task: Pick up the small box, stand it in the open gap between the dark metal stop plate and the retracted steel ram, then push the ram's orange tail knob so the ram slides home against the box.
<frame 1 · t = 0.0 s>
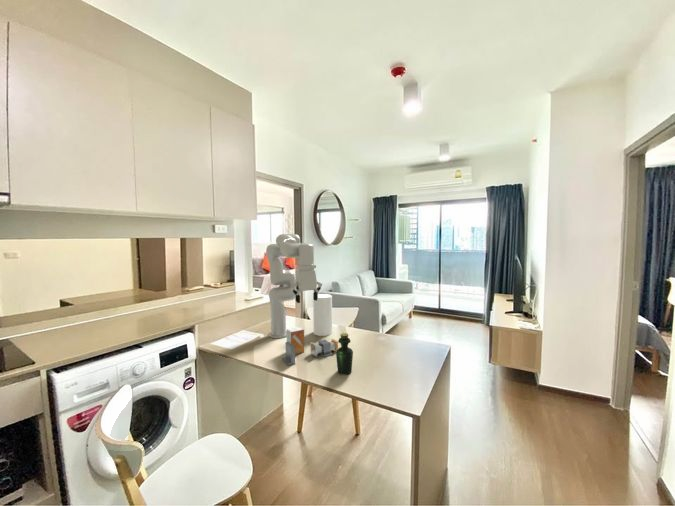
hand: (306, 301, 145), 31 cm above the worktop, fingers open, 9 cm apart
stop plate: (290, 361, 146), on the worktop
small box: (295, 352, 158), on the worktop
ram: (324, 346, 156), point 3 cm above the worktop, slide at 0.0 cm
potion bottle: (344, 371, 135), on the worktop
cylinder: (323, 332, 189), on the worktop
guide block: (324, 353, 156), on the worktop
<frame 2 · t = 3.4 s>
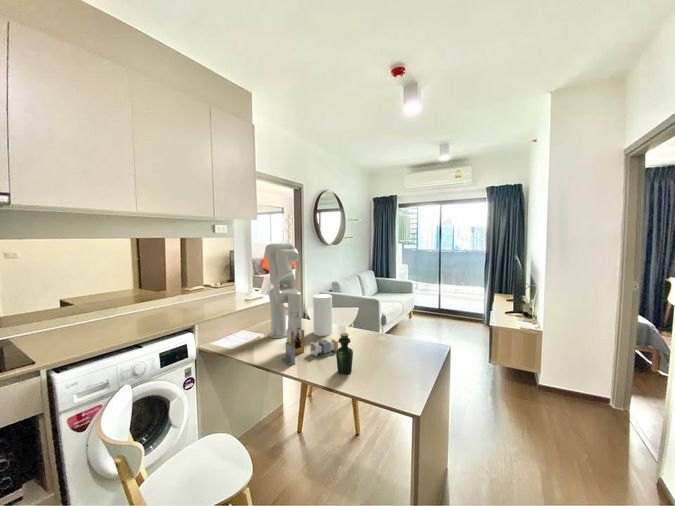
hand: (295, 345, 158), 4 cm above the worktop, fingers closed on small box, 6 cm apart
small box: (295, 352, 158), on the worktop, touching gripper
everything else where it was.
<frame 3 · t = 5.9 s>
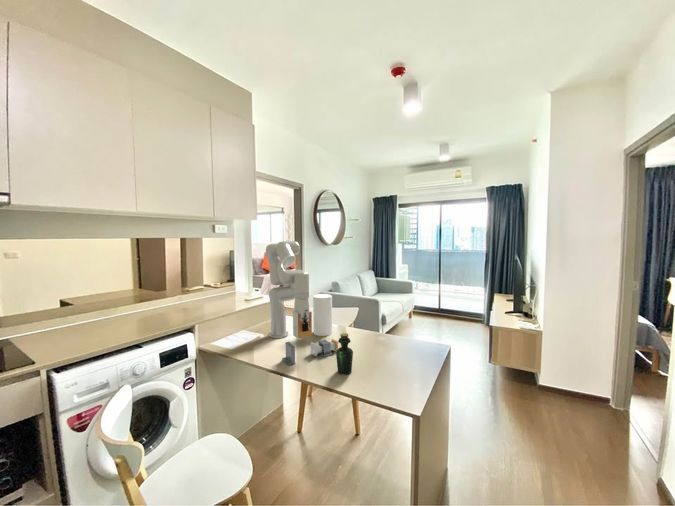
hand: (302, 328, 149), 16 cm above the worktop, fingers closed on small box, 6 cm apart
small box: (302, 336, 149), point 12 cm above the worktop, touching gripper
everything else where it was.
when the fingers open (5 cm above the worktop, at t = 8.6 s): small box drops 1 cm, on the worktop.
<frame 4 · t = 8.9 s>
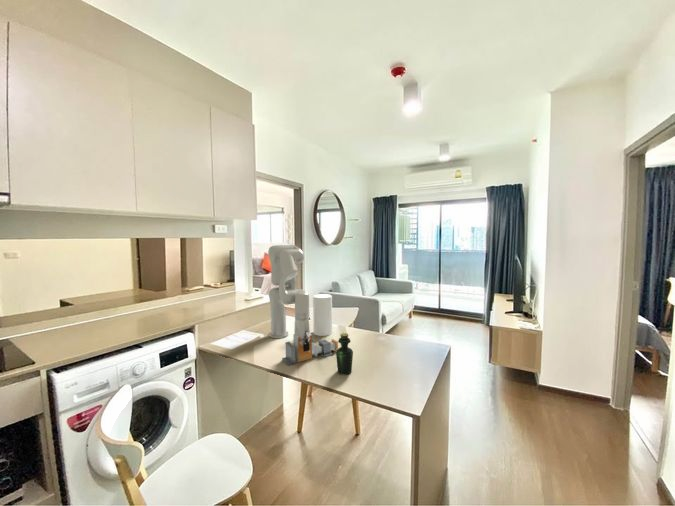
hand: (302, 347, 149), 6 cm above the worktop, fingers open, 9 cm apart
small box: (302, 358, 149), on the worktop
everything else where it was.
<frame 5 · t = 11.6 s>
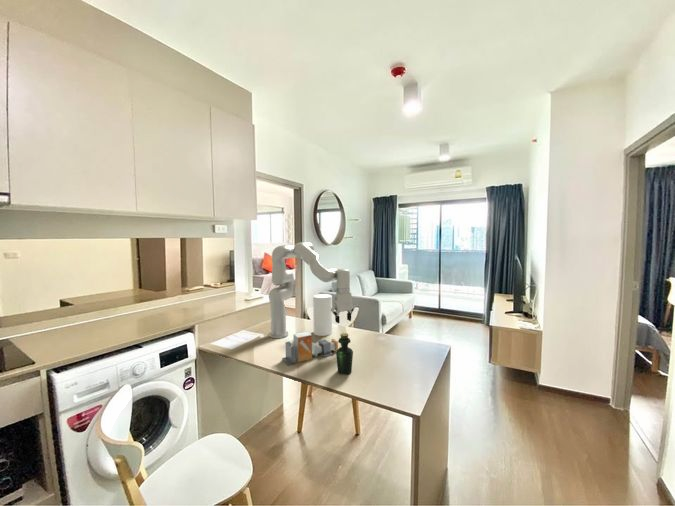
hand: (343, 321, 162), 16 cm above the worktop, fingers open, 7 cm apart
nothing on the worktop moved.
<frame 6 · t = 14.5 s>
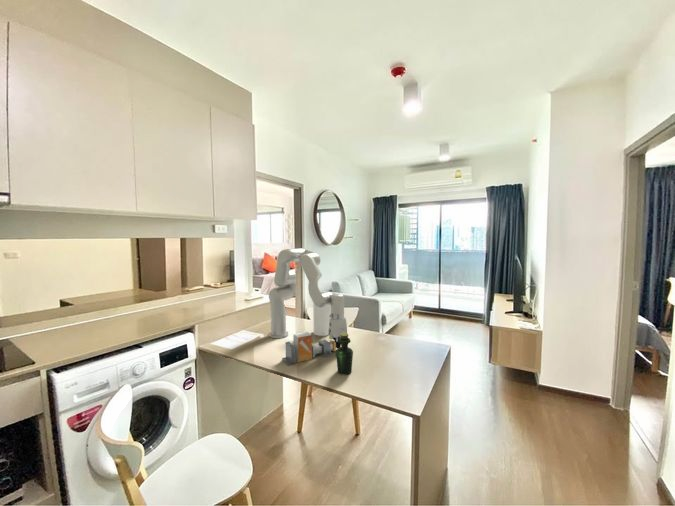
hand: (337, 347, 160), 1 cm above the worktop, fingers closed
ram: (322, 347, 155), point 3 cm above the worktop, slide at 1.4 cm, touching gripper
everything else where it was.
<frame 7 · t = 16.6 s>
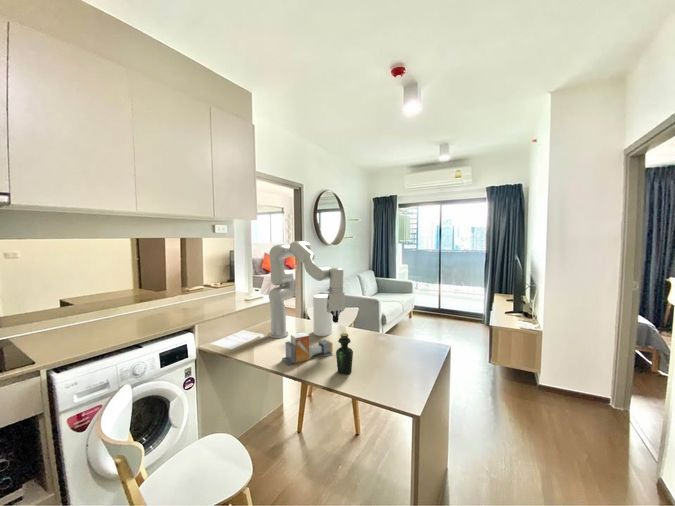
hand: (335, 321, 160), 16 cm above the worktop, fingers closed
small box: (300, 359, 149), on the worktop
ram: (318, 348, 154), point 3 cm above the worktop, slide at 3.5 cm
everything else where it was.
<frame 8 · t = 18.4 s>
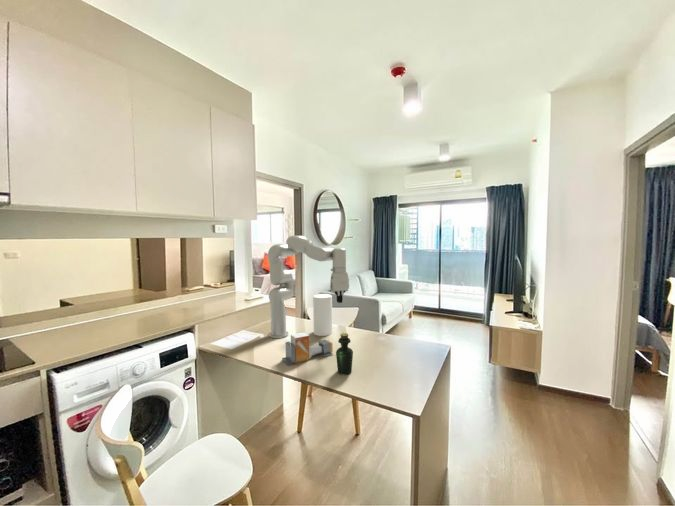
hand: (339, 302, 160), 27 cm above the worktop, fingers closed
nothing on the worktop moved.
at the end: small box inside the target area (0.5 cm from its centre), on the worktop; small box tilted 0°; ram slide at 3.5 cm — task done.
